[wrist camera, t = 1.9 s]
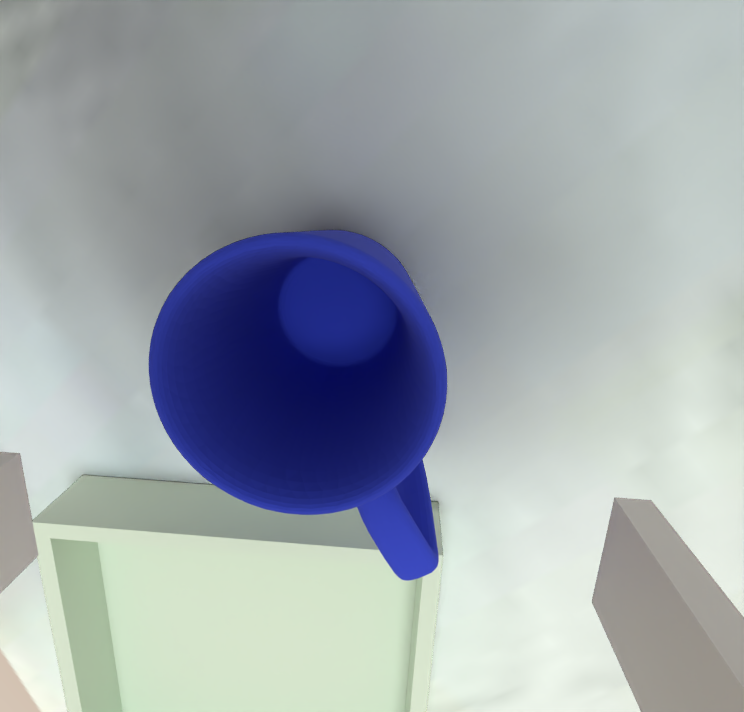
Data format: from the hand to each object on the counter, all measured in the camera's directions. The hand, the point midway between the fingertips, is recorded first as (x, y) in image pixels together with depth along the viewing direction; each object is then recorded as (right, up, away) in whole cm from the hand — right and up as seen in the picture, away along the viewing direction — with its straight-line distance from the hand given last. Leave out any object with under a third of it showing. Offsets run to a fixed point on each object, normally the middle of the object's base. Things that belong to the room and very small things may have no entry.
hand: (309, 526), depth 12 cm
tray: (-5, -11, +18) cm, 22 cm away
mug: (+1, +4, +13) cm, 13 cm away
